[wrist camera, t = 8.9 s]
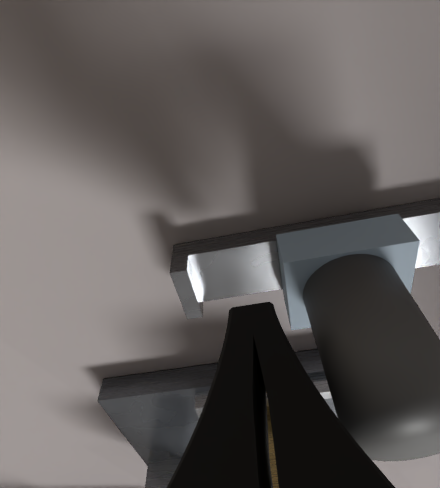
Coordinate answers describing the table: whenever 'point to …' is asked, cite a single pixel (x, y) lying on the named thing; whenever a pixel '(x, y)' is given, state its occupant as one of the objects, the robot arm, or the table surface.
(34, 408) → the table surface
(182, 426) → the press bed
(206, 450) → the robot arm
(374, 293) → the lever
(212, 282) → the rail
